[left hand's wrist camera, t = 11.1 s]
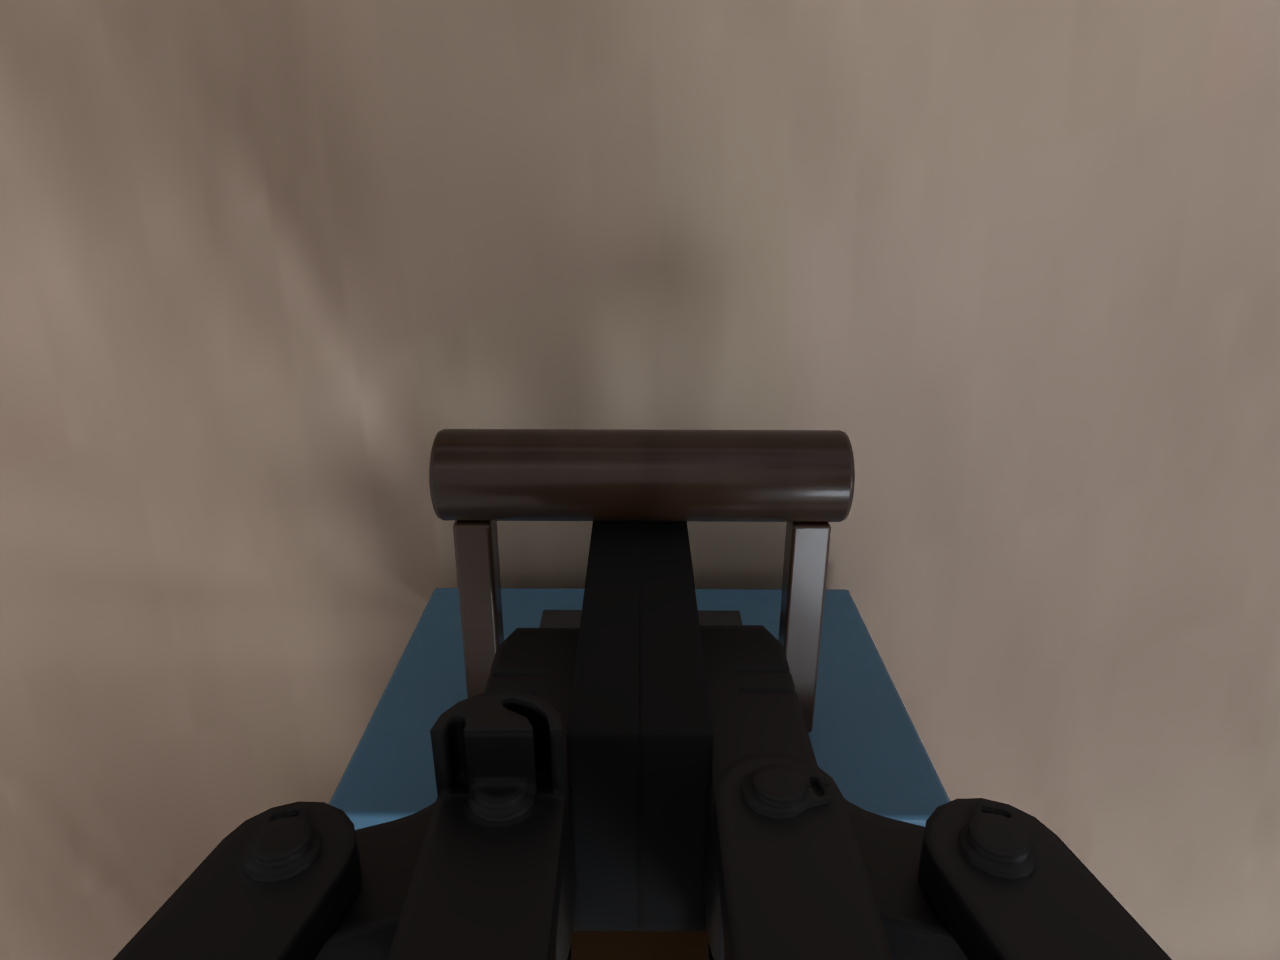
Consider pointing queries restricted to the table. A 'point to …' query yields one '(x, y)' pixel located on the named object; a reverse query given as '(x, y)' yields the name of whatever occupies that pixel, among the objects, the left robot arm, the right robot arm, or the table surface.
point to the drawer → (795, 615)
